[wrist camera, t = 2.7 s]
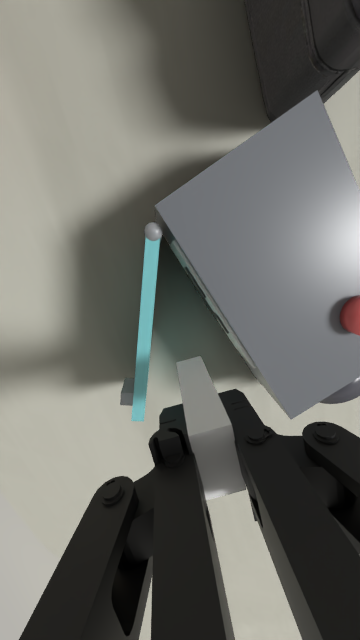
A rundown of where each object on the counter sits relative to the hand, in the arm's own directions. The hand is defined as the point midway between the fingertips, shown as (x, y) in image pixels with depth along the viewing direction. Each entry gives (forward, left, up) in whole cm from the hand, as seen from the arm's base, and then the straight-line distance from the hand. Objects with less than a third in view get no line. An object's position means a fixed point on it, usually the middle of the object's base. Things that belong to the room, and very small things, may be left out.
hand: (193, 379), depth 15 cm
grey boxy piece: (0, +9, -8) cm, 12 cm away
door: (-4, -1, -7) cm, 9 cm away
